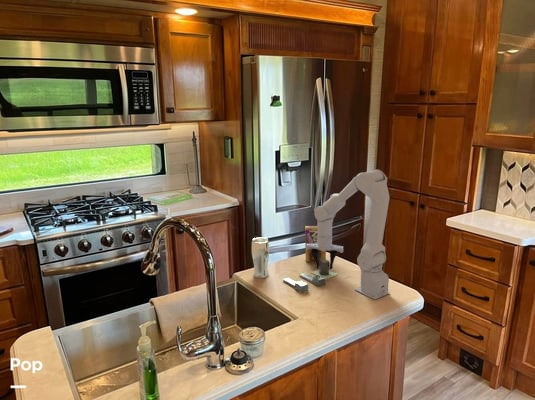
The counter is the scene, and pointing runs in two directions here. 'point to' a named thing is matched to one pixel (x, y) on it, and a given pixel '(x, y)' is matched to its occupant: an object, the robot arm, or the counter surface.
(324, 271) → the grey tapered rounded piece
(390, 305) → the counter surface
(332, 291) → the counter surface
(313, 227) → the candy box
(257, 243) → the beer glass
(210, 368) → the counter surface
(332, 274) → the plate
